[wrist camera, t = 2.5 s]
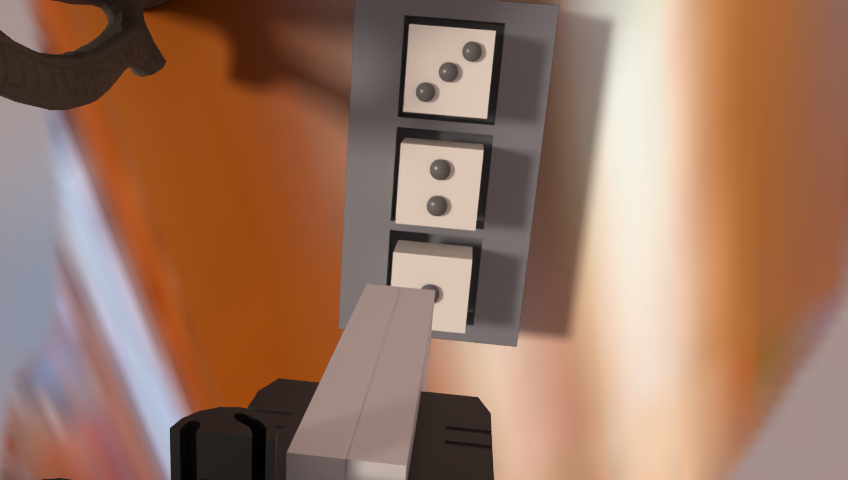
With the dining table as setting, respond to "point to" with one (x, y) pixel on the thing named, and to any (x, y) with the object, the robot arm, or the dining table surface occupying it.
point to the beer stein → (82, 60)
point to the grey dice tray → (500, 135)
